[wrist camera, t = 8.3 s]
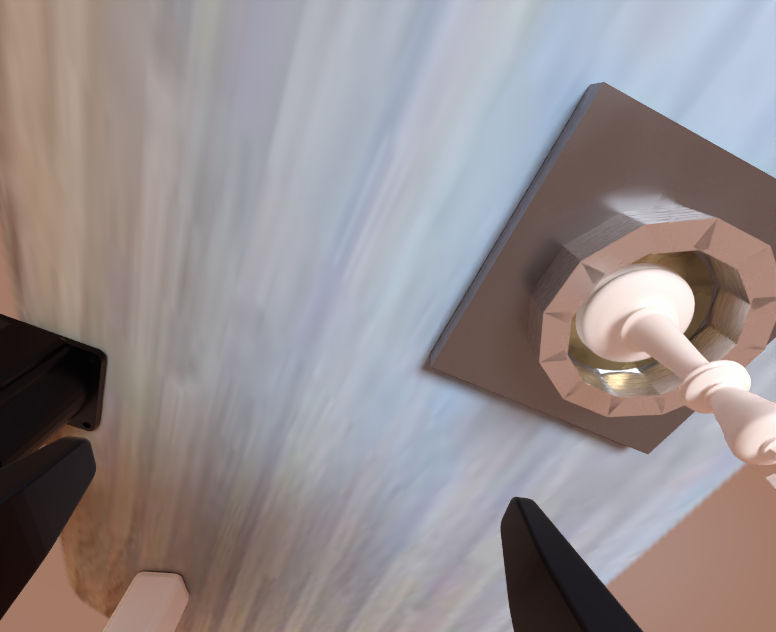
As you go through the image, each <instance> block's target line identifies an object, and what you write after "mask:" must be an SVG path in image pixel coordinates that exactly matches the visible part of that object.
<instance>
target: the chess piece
mask: <svg viewBox="0 0 776 632" xmlns="http://www.w3.org/2000/svg"><path fill="white" fill-rule="evenodd" d="M694 307H695V301H694V295H693V292H692V290H691V288H690V286H689V285H688V284H687V282H686V281H685V280H684V279H683V278H681V277H680V275H679V274H678V273H676V272H675V271H674V270H672V269H670V268H668V267H666V266H664V265H660V264H655V263H636V264H631V265H628V266H626V267H624V268H622V269H620V270H618V271H617V272H615V273H613V274H611V275H609V276H607V277H606V278H604V279H602V280H600V282H599V283H598V284H597V286H596V287H595V288H594V290H593V291H592V292H591V293H590V295H589V296H588V297H587V299H586V300H585V301H584V303H583V304H582V305H581V307H580V308H579V309H578V310H577V313H576V330H577V333H578V336H579V338H580V339H581V341H582V342H583V343H584V344H585V345H586V346H587V347H588V348H589V349H591V350H592V351H593V352H594V353H595V354H596V355H598V356H600V357H602V358H604V359H607V360H610V361H615V362H634V361H640V360H644V359H647V358H650V357H653V358H654V359H655V360H657V361H658V362H660V363H661V364H662V365H664V366H665V367H666V368H668V369H669V370H671V371H672V372H673V373H675V374H676V375H677V376H678V377H680V378H681V379H682V380H683V381H682V382H681V384H680V387H679V391H678V395H679V399H680V401H681V402H682V404H683V405H685V406H686V407H688V408H690V409H692V410H693V411H696V412H699V413H714V415H715V417H716V420H717V421H718V423H719V424H720V426H721V428H722V431H723V433H724V437H725V440H726V442H727V444H728V446H729V448H730V450H731V451H732V453H733V454H734V455H735V456H736V457H737V458H738V459H740V460H741V461H743V462H746V463H750V464H755V465H768V464H775V463H776V403H773V402H771V401H768V400H766V399H764V398H762V397H760V396H758V395H756V394H753V393H750V392H748V391H749V389H750V385H751V379H750V376H749V374H748V373H747V371H746V369H745V368H744V367H743V366H742V365H740V364H739V363H737V362H734V361H729V360H718V361H712V362H708V361H707V360H706V359H705V358H704V357H703V356H702V355H701V354H700V352H699V351H698V350H697V349H696V348H695V347H694V346H693V345H692V344H691V342H690V341H689V340H688V339H687V338H686V337H685V336H684V334H683V333H684V332H685V331H686V329H687V328H688V326H689V324H690V322H691V320H692V317H693V313H694ZM766 479H767V480H768V481H769V483H770V484H771V485H772V486H773V487H774V488H775V489H776V473H775V474H773V475H771V476H768V477H766Z"/></svg>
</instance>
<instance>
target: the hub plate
mask: <svg viewBox="0 0 776 632" xmlns="http://www.w3.org/2000/svg"><path fill="white" fill-rule="evenodd" d="M636 263H655V264H660V265H664V266H666V267H668V268H670V269H672V270H674V271H675V272H676V273H678V274H679V275H680V277H681V278H683V279H684V280H685V281H686V282H687V284H688V285H689V286H690V288H691V290H692V292H693V295H694V301H695V307H694V313H693V317H692V320H691V322H690V324H689V326H688V328H687V329H686V331H685V332H684V333H683V334H684V336H685V337H686V338H687V339H688V340H689V341H690V342H691V344H692V345H693V346H694V347H695V348H696V349H697V350H698V351H699V352H700V354H701V355H702V356H703V357H704V358H705V359H706V360H707V361H708V362H712V361H718V360H729V361H734V362H737V363H739V364H740V365H742V366H743V367H744V368H745V367H746V366H747V365H748V364H749V363H750V362H751V361H752V360H753V359H754V358H756V357H757V356H758V355H759V354H760V353H761V352H762V351H763V350H764V349H765V347H766V345H767V344H769V343H770V342H771V341H772V340H773V339H774V338H775V337H776V179H775V178H774V177H772V176H770V175H768V174H767V173H765V172H763V171H761V170H759V169H758V168H756V167H754V166H752V165H751V164H749V163H747V162H745V161H743V160H742V159H740V158H738V157H736V156H735V155H733V154H731V153H729V152H727V151H726V150H724V149H722V148H720V147H719V146H717V145H715V144H713V143H711V142H710V141H708V140H706V139H704V138H703V137H701V136H699V135H697V134H695V133H694V132H692V131H690V130H688V129H687V128H685V127H683V126H681V125H679V124H678V123H676V122H674V121H672V120H671V119H669V118H667V117H665V116H663V115H662V114H660V113H658V112H656V111H655V110H653V109H651V108H649V107H647V106H646V105H644V104H642V103H640V102H639V101H637V100H635V99H633V98H631V97H630V96H628V95H626V94H624V93H623V92H621V91H619V90H617V89H615V88H614V87H612V86H610V85H608V84H607V83H605V82H602V83H596V84H590V86H589V88H588V89H587V91H586V93H585V94H584V96H583V98H582V99H581V101H580V103H579V104H578V106H577V108H576V109H575V111H574V113H573V115H572V116H571V118H570V120H569V121H568V123H567V125H566V126H565V128H564V130H563V131H562V133H561V135H560V136H559V138H558V140H557V141H556V143H555V145H554V146H553V148H552V150H551V152H550V153H549V155H548V157H547V158H546V160H545V162H544V163H543V165H542V167H541V168H540V170H539V172H538V173H537V175H536V177H535V178H534V180H533V182H532V183H531V185H530V187H529V189H528V190H527V192H526V194H525V195H524V197H523V199H522V200H521V202H520V204H519V205H518V207H517V209H516V210H515V212H514V214H513V215H512V217H511V219H510V220H509V222H508V224H507V225H506V227H505V229H504V231H503V232H502V234H501V236H500V237H499V239H498V241H497V242H496V244H495V246H494V247H493V249H492V251H491V252H490V254H489V256H488V257H487V259H486V261H485V262H484V264H483V266H482V268H481V269H480V271H479V273H478V274H477V276H476V278H475V279H474V281H473V283H472V284H471V286H470V288H469V289H468V291H467V293H466V294H465V296H464V298H463V299H462V301H461V303H460V305H459V306H458V308H457V310H456V311H455V313H454V315H453V316H452V318H451V320H450V321H449V323H448V325H447V326H446V328H445V330H444V331H443V333H442V335H441V336H440V338H439V340H438V342H437V343H436V345H435V347H434V348H433V350H432V352H431V353H430V364H431V367H432V368H434V369H437V370H439V371H442V372H444V373H447V374H449V375H452V376H454V377H457V378H459V379H462V380H464V381H467V382H469V383H472V384H474V385H477V386H479V387H482V388H484V389H487V390H489V391H492V392H494V393H497V394H499V395H502V396H504V397H507V398H509V399H511V400H514V401H516V402H519V403H521V404H524V405H526V406H529V407H531V408H534V409H536V410H539V411H541V412H544V413H546V414H549V415H551V416H554V417H556V418H559V419H561V420H564V421H566V422H569V423H571V424H574V425H576V426H579V427H581V428H584V429H586V430H589V431H591V432H594V433H596V434H599V435H601V436H604V437H606V438H609V439H611V440H613V441H616V442H618V443H621V444H623V445H626V446H628V447H631V448H633V449H636V450H638V451H641V452H643V453H646V454H649V453H650V452H651V451H652V450H653V449H654V448H656V447H657V446H658V445H659V444H660V443H661V442H662V441H663V440H664V439H665V438H666V437H667V436H669V435H670V434H671V433H672V432H673V431H674V430H675V429H676V428H677V427H678V426H679V425H681V424H682V423H683V422H684V421H685V420H686V419H687V418H688V417H689V416H690V415H691V414H692V413H694V412H695V411H693V410H692V409H690V408H688V407H686V406H685V405H683V404H682V402H681V401H680V399H679V395H678V391H679V387H680V384H681V382H682V381H683V380H682V379H681V378H680V377H678V376H677V375H676V374H675V373H673V372H672V371H671V370H669V369H668V368H666V367H665V366H664V365H662V364H661V363H660V362H658V361H657V360H655V359H654V358H653V357H650V358H647V359H644V360H640V361H634V362H615V361H610V360H607V359H604V358H602V357H600V356H598V355H596V354H595V353H594V352H593V351H592V350H591V349H589V348H588V347H587V346H586V345H585V344H584V343H583V342H582V341H581V339H580V338H579V336H578V333H577V330H576V313H577V310H578V309H579V308H580V307H581V305H582V304H583V303H584V301H585V300H586V299H587V297H588V296H589V295H590V293H591V292H592V291H593V290H594V288H595V287H596V286H597V284H598V283H599V282H600V280H602V279H604V278H606V277H607V276H609V275H611V274H613V273H615V272H617V271H618V270H620V269H622V268H624V267H626V266H628V265H631V264H636Z"/></svg>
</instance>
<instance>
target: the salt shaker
mask: <svg viewBox="0 0 776 632" xmlns="http://www.w3.org/2000/svg"><path fill="white" fill-rule="evenodd" d="M188 600H189V594H188V591H187V589H186V586H185V584H184V582H183V579H182V577H181V576H180V575H178V574H175V573H159V572H140V573H138V574H137V575H136V576H135V577H134V579H133V581H132V582H131V584H130V586H129V587H128V589H127V591H126V592H125V594H124V596H123V598H122V599H121V601H120V603H119V604H118V606H117V608H116V609H115V611H114V613H113V614H112V616H111V618H110V619H109V621H108V623H107V624H106V626H105V628H104V630H103V631H102V632H175V630H176V627H177V625H178V623H179V621H180V619H181V616H182V614H183V612H184V610H185V608H186V605H187V603H188Z"/></svg>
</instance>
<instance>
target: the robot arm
mask: <svg viewBox="0 0 776 632" xmlns="http://www.w3.org/2000/svg"><path fill="white" fill-rule="evenodd" d="M105 367H106V355H105V354H104V353H103V352H102V351H101V350H99V349H97V348H94V347H91V346H88V345H86V344H83V343H80V342H77V341H74V340H72V339H69V338H66V337H63V336H61V335H58V334H55V333H52V332H49V331H47V330H44V329H41V328H38V327H35V326H33V325H30V324H27V323H24V322H22V321H19V320H16V319H13V318H10V317H7V316H5V315H2V314H0V620H1V619H2V617H3V616H4V615H5V613H6V612H7V610H8V609H9V608H10V606H11V605H12V603H13V602H14V600H15V599H16V598H17V596H18V595H19V594H20V592H21V591H22V590H23V588H24V587H25V585H26V584H27V583H28V581H29V580H30V578H31V577H32V576H33V574H34V573H35V571H36V570H37V569H38V567H39V566H40V564H41V563H42V562H43V560H44V559H45V557H46V556H47V554H48V553H49V551H50V550H51V548H52V546H53V545H54V543H55V542H56V540H57V538H58V537H59V535H60V533H61V532H62V530H63V528H64V527H65V525H66V523H67V522H68V520H69V518H70V517H71V515H72V513H73V511H74V510H75V508H76V506H77V505H78V503H79V501H80V500H81V498H82V496H83V495H84V493H85V491H86V490H87V488H88V486H89V485H90V483H91V481H92V479H93V478H94V475H95V472H96V463H95V459H94V455H93V451H92V446H91V443H90V441H89V440H88V439H85V438H78V437H70V436H69V437H63V438H61V439H59V440H57V441H55V442H53V443H51V444H49V445H47V446H44V447H42V448H40V447H41V446H42V445H44V444H45V443H46V442H47V441H48V440H49V439H50V438H51V437H52V436H54V435H55V434H56V433H57V432H58V431H59V430H60V429H61V428H63V427H64V426H65V425H66V424H68V425H71V426H74V427H77V428H81V429H84V430H87V431H92V430H94V429H95V428H96V427H97V426H98V425H99V422H100V413H101V404H102V394H103V385H104V376H105ZM39 448H40V449H39ZM501 539H502V548H503V557H504V566H505V575H506V583H507V592H508V600H509V608H510V613H511V619H512V624H513V629H514V632H643V631H642V630H641V628H640V627H639V626H638V625H637V624H636V623H635V621H634V620H633V619H632V618H631V616H630V615H629V614H628V613H627V612H626V611H625V609H624V608H623V607H622V606H621V604H620V603H619V602H618V601H617V600H616V598H615V597H614V596H613V595H612V594H611V593H610V591H609V590H608V589H607V588H606V587H605V585H604V584H603V583H602V582H601V581H600V579H599V578H598V577H597V576H596V575H595V573H594V572H593V571H592V570H591V569H590V567H589V566H588V565H587V564H586V563H585V561H584V560H583V559H582V558H581V557H580V555H579V554H578V553H577V552H576V551H575V549H574V548H573V547H572V546H571V545H570V543H569V542H568V541H567V540H566V539H565V537H564V536H563V535H562V534H561V533H560V532H559V530H558V529H557V528H556V527H555V526H554V524H553V523H552V522H551V521H550V520H549V518H548V517H547V516H546V515H545V514H544V512H543V511H542V510H541V509H540V508H539V506H538V505H537V504H536V503H535V502H534V501H533V500H531V499H528V498H521V497H514V498H512V499H511V501H510V503H509V505H508V507H507V509H506V512H505V514H504V516H503V518H502V521H501Z"/></svg>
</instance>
